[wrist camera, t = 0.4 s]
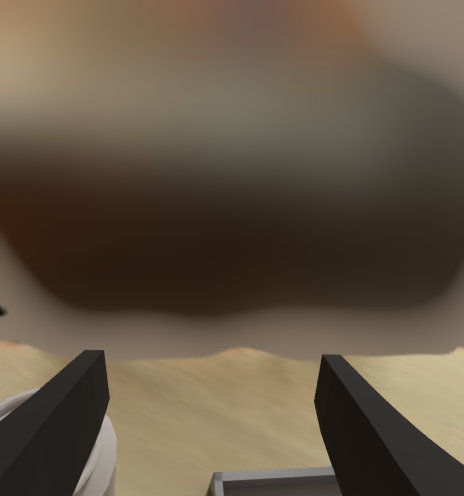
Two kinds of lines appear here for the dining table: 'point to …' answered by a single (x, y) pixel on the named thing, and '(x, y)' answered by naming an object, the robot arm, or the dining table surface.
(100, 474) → the can
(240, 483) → the tray
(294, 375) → the dining table surface
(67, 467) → the robot arm
